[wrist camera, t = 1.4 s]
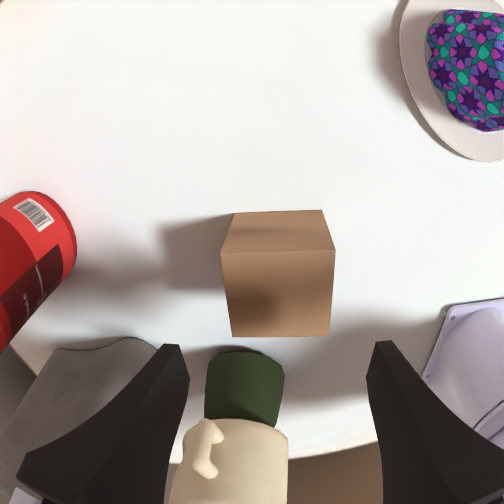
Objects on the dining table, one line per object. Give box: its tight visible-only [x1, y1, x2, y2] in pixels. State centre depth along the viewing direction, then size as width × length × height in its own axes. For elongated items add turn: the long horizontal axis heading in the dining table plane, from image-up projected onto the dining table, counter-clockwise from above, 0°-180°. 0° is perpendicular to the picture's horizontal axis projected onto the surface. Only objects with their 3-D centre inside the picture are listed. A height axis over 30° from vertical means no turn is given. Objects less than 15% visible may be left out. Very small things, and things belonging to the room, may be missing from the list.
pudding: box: [399, 0, 504, 163], centre depth 10 cm, size 12×12×5 cm
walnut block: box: [220, 210, 335, 337], centre depth 16 cm, size 5×5×5 cm
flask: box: [0, 338, 157, 502], centre depth 17 cm, size 15×6×20 cm, turn 111°
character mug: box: [169, 352, 288, 504], centre depth 18 cm, size 11×7×13 cm, turn 15°
